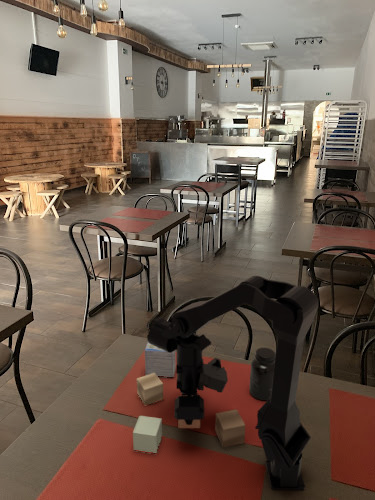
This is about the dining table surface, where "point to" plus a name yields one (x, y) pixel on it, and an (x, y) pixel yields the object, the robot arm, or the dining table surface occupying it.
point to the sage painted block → (147, 434)
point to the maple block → (150, 388)
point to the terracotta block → (183, 425)
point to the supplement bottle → (262, 373)
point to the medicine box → (159, 361)
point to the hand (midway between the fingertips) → (189, 415)
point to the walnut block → (230, 428)
